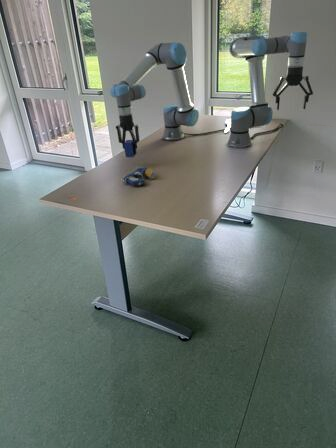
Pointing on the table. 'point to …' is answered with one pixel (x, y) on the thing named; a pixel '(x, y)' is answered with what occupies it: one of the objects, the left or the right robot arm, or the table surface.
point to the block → (129, 148)
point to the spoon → (228, 125)
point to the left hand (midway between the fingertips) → (130, 153)
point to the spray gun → (139, 176)
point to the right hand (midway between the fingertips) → (290, 109)
